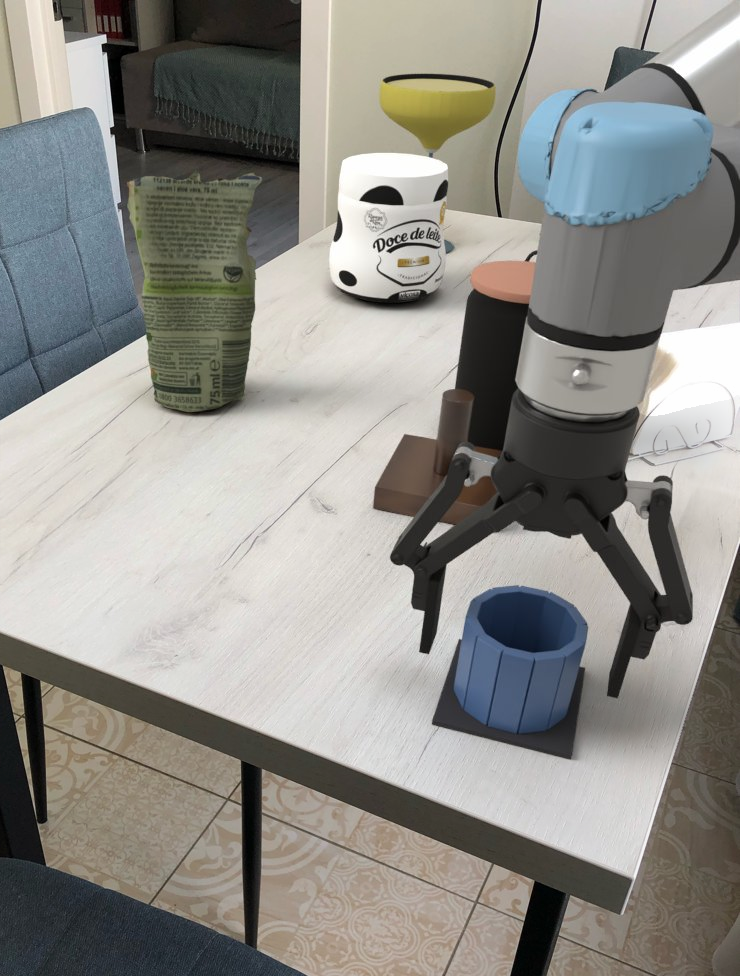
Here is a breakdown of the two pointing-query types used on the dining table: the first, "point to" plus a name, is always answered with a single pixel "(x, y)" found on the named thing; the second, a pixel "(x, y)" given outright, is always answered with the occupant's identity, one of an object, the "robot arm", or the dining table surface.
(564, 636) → the ring
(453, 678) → the mat
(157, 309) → the pouch
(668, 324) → the dining table surface
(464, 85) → the cocktail glass
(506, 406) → the coffee jar
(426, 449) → the stand
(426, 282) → the doce de leite jar
